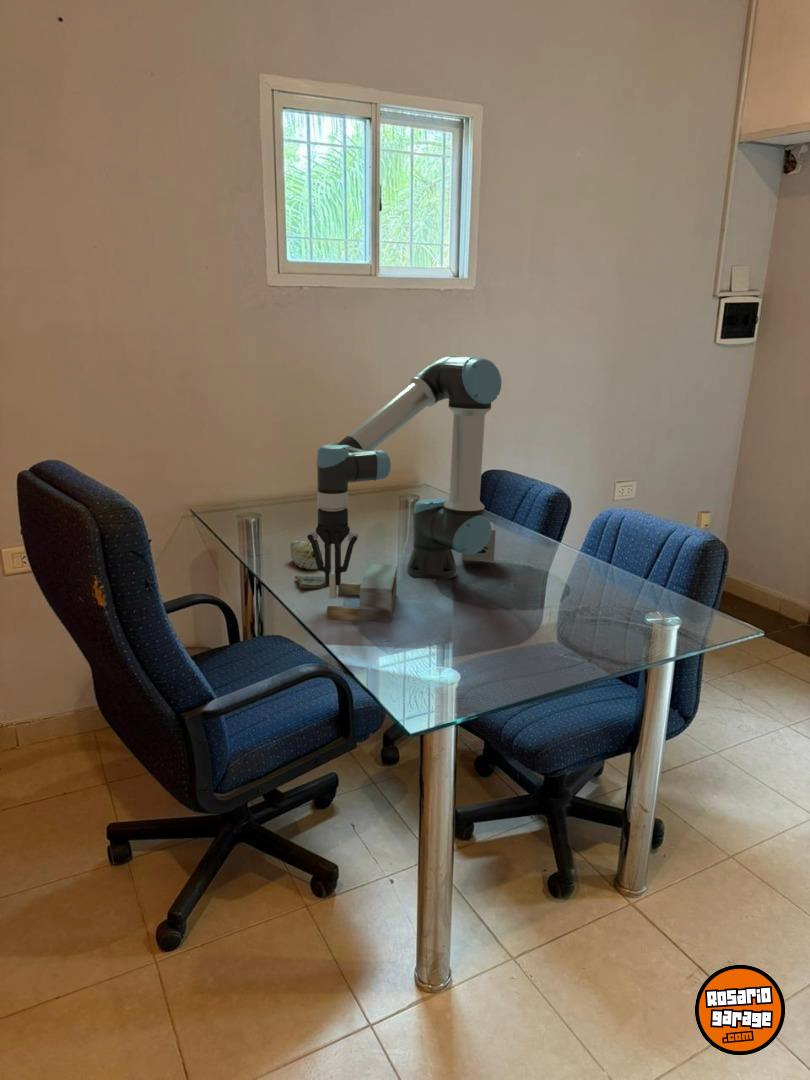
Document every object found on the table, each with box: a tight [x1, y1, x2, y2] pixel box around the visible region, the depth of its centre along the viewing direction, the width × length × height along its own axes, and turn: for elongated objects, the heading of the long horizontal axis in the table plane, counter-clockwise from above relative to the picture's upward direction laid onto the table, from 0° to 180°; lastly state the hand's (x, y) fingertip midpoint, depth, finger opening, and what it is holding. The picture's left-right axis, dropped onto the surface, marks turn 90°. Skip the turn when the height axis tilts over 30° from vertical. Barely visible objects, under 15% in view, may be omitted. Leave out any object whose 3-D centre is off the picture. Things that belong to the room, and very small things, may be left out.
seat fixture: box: [326, 563, 398, 623], centre depth 192 cm, size 16×19×8 cm
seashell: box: [290, 540, 323, 570], centre depth 224 cm, size 10×10×10 cm
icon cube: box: [460, 521, 496, 562], centre depth 238 cm, size 10×10×10 cm
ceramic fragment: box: [294, 575, 327, 589], centre depth 209 cm, size 11×3×10 cm
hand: (333, 596), depth 193 cm, fingers closed
